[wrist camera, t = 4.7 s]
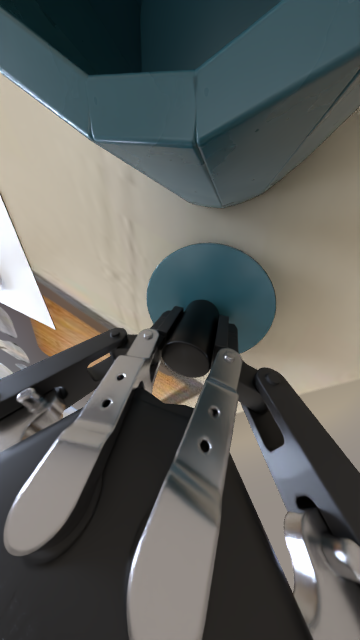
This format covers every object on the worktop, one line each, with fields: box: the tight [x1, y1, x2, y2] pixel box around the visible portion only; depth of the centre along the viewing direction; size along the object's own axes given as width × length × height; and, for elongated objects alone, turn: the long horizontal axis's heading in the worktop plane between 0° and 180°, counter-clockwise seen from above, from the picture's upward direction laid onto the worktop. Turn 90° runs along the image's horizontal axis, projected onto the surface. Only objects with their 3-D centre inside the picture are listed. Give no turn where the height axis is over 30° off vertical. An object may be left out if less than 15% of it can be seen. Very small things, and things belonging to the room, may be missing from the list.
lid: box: [147, 243, 276, 378], centre depth 10 cm, size 11×11×7 cm
